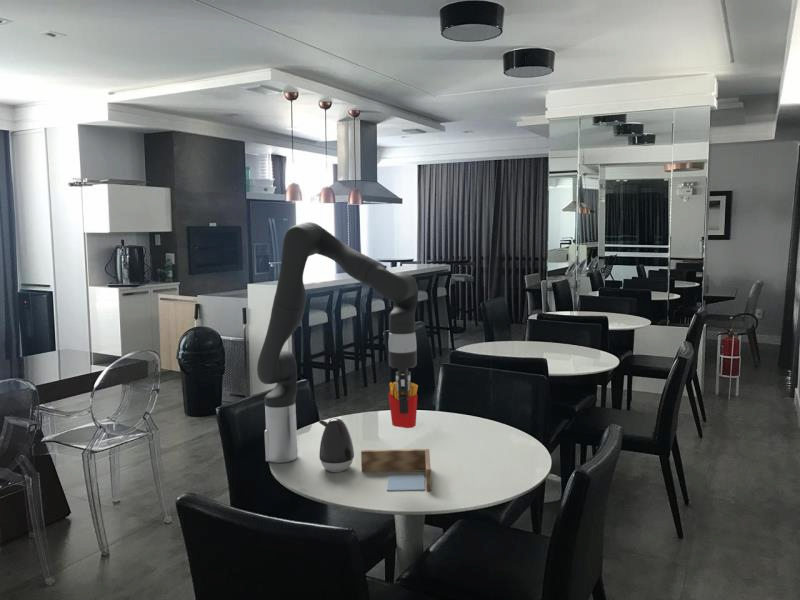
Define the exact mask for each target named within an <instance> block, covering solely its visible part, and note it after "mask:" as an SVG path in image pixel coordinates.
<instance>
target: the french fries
mask: <svg viewBox="0 0 800 600" xmlns="http://www.w3.org/2000/svg"><path fill="white" fill-rule="evenodd" d="M418 387H419V385H418V384H416V383H414V382H412V381H410V390H409V391H408V397H409V399H408V413H407V414H400V405H399V399H398V396H399V392H398V391H397V381H394V382H389V390H390V391H389V392H388V393H387V394H388V401H389V409H390V417H391V424H392V426H393V427H397V428H405V429H411V428H414V427H416V426H417V425H416V424H417V411H418V410H417V409H418V408H417V407H418V394H417V392H418ZM401 395H406V392H401Z"/></svg>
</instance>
